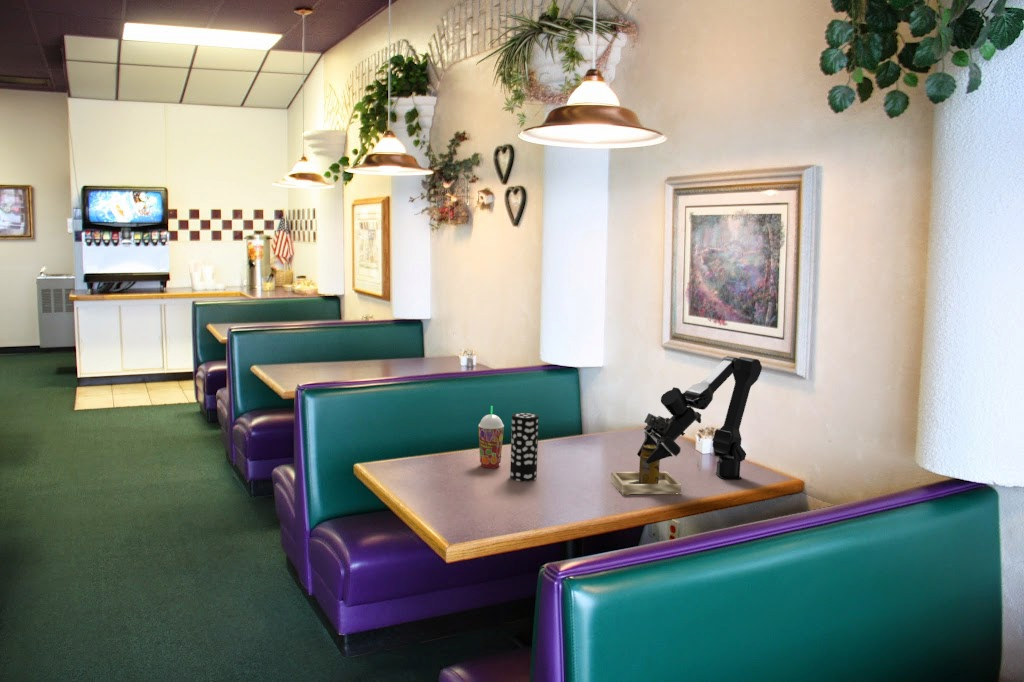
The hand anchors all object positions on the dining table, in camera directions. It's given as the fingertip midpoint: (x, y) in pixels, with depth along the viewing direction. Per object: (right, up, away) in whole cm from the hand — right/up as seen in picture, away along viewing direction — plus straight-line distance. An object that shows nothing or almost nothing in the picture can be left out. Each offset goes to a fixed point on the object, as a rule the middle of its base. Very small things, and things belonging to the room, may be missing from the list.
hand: (642, 459), depth 264 cm
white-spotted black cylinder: (-36, -7, +8) cm, 38 cm away
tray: (+1, -9, +1) cm, 9 cm away
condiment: (+1, -8, +1) cm, 8 cm away
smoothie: (-47, -5, +21) cm, 52 cm away
